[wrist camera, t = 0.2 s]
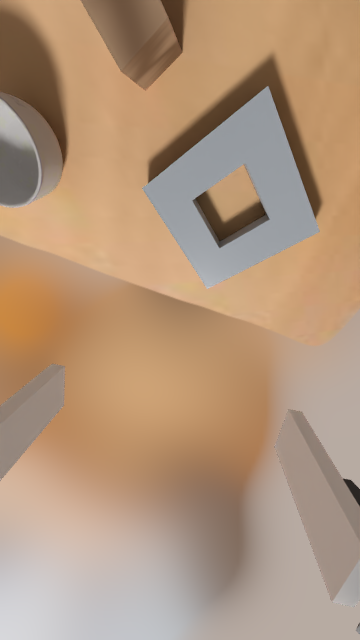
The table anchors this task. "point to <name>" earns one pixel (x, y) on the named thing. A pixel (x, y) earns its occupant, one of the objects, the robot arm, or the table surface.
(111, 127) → the table surface
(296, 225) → the housing
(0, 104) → the teacup
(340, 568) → the robot arm
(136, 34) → the peg
